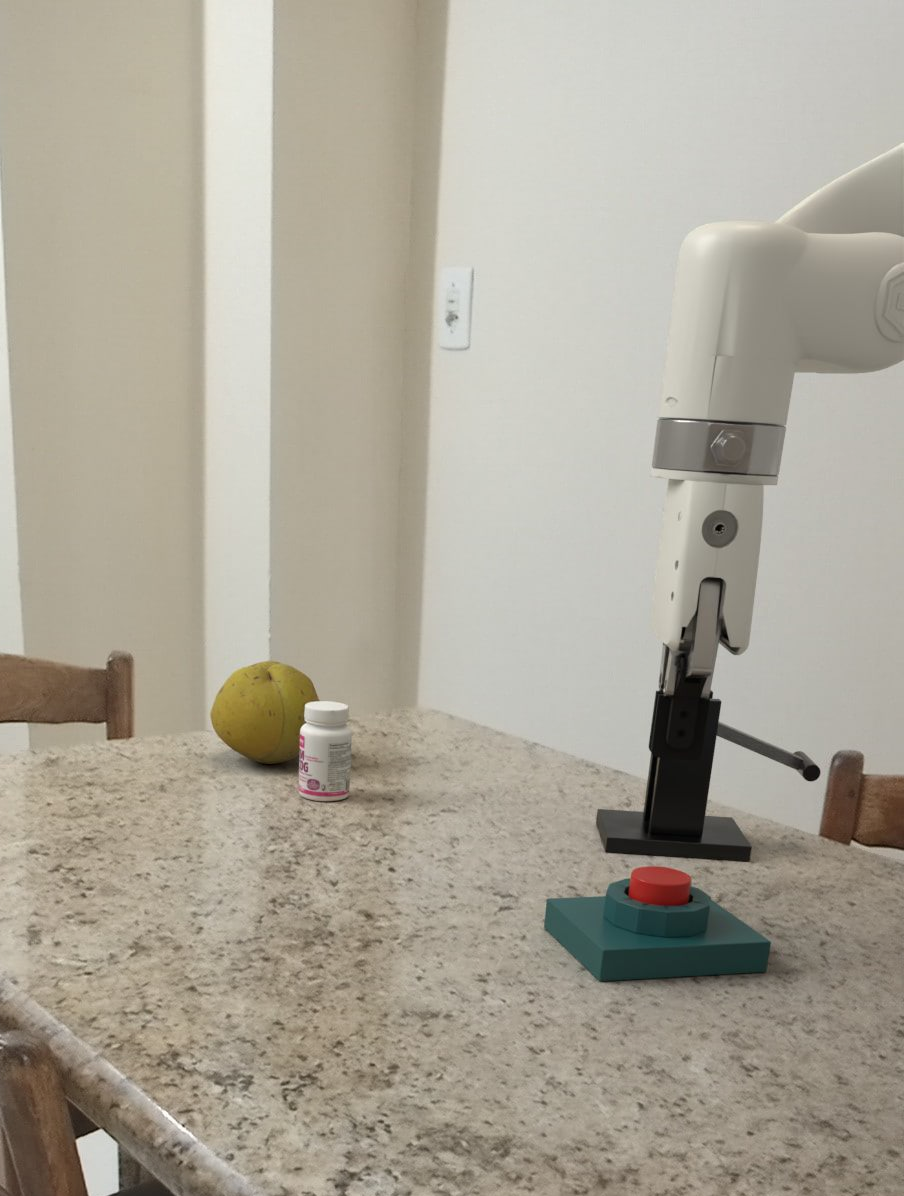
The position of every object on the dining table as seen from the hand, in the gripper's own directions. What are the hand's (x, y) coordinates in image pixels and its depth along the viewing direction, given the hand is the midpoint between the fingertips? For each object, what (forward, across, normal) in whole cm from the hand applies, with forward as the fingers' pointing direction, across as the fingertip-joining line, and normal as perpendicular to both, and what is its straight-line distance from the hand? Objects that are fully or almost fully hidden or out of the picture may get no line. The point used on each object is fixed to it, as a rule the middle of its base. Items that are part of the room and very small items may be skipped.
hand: (674, 755), depth 89 cm
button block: (+14, 0, 0) cm, 14 cm away
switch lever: (+5, +27, -10) cm, 29 cm away
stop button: (+10, 0, 0) cm, 10 cm away
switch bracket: (+13, +27, -5) cm, 31 cm away
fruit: (+14, +46, +32) cm, 58 cm away
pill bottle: (+14, +35, +26) cm, 45 cm away
